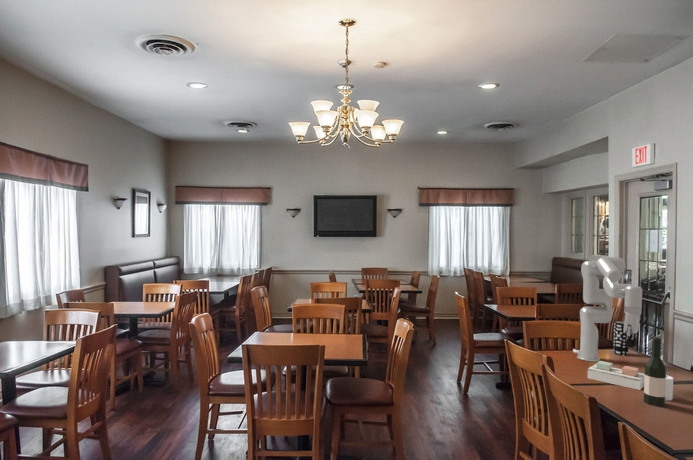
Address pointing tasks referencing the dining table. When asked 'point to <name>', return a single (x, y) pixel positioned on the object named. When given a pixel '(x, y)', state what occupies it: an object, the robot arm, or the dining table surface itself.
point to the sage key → (604, 365)
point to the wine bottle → (655, 376)
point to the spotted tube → (620, 339)
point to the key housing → (616, 377)
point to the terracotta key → (630, 371)
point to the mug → (669, 388)
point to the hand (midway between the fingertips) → (631, 345)
